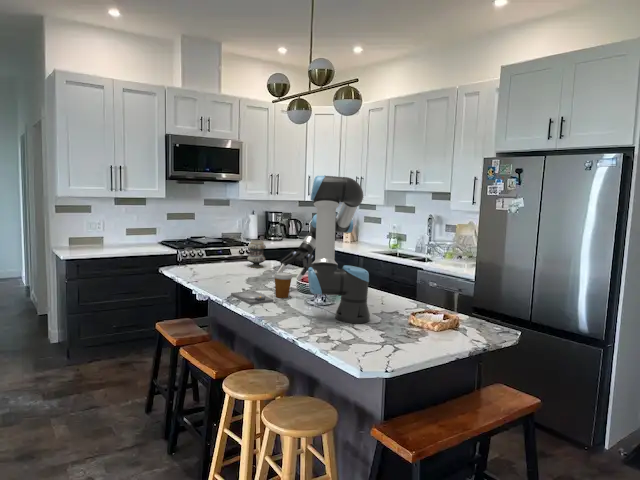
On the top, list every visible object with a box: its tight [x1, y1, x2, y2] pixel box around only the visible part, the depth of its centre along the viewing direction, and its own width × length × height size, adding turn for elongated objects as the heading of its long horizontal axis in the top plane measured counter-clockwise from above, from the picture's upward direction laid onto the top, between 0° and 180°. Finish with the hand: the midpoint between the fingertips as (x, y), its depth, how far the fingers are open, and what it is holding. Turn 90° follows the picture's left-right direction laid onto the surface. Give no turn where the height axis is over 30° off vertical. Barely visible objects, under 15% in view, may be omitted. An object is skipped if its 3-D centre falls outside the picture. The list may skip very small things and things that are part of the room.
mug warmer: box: [230, 290, 275, 306], centre depth 239 cm, size 20×13×3 cm, turn 37°
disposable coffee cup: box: [273, 271, 293, 299], centre depth 247 cm, size 10×10×12 cm
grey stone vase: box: [247, 239, 267, 269], centre depth 326 cm, size 12×12×18 cm
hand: (287, 277), depth 250 cm, fingers open, 13 cm apart
